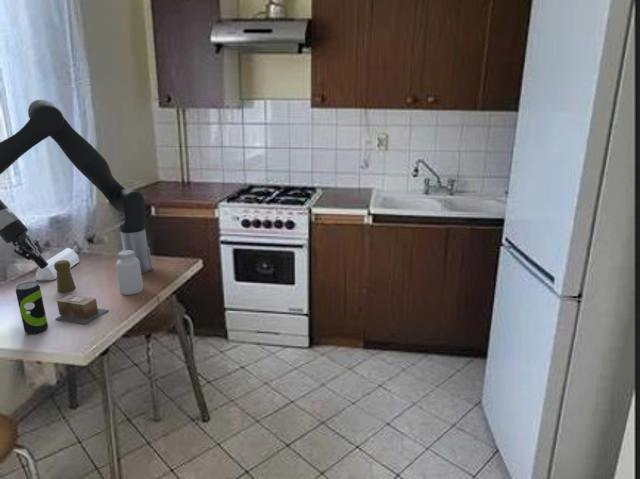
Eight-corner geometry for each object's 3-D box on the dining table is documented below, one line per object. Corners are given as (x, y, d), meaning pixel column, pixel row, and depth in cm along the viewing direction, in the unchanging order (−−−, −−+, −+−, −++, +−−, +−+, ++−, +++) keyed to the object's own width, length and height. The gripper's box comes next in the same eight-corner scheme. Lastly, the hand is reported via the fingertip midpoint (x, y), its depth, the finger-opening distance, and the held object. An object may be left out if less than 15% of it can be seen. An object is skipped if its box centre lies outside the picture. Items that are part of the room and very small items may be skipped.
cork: (68, 292, 173) (62, 264, 169) (53, 291, 174) (48, 263, 171) (79, 286, 178) (74, 258, 175) (65, 285, 179) (60, 257, 176)
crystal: (55, 272, 182) (84, 252, 205) (37, 264, 181) (68, 245, 204) (49, 288, 184) (78, 266, 207) (31, 280, 183) (62, 259, 206)
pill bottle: (121, 297, 168) (115, 257, 164) (119, 289, 175) (113, 250, 170) (144, 292, 171) (139, 253, 167) (141, 285, 178) (136, 247, 174)
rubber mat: (55, 319, 152) (55, 318, 152) (79, 306, 161) (79, 305, 161) (85, 324, 148) (85, 323, 148) (108, 311, 157) (108, 310, 157)
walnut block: (56, 300, 153) (84, 304, 149) (69, 294, 157) (95, 298, 154) (59, 314, 154) (86, 319, 151) (71, 308, 159) (98, 312, 155)
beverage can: (34, 325, 148) (24, 280, 144) (52, 325, 148) (43, 281, 143) (20, 334, 142) (9, 288, 138) (39, 335, 142) (29, 289, 137)
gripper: (8, 229, 160) (44, 269, 164) (-13, 235, 147) (26, 278, 151) (26, 216, 160) (62, 256, 164) (7, 221, 148) (46, 264, 151)
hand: (45, 266), depth 158 cm, fingers closed
